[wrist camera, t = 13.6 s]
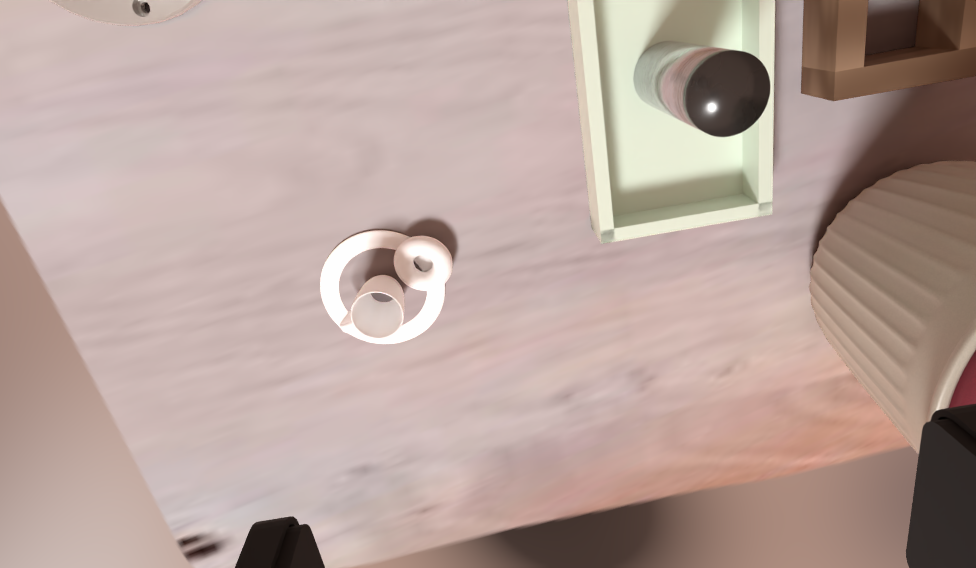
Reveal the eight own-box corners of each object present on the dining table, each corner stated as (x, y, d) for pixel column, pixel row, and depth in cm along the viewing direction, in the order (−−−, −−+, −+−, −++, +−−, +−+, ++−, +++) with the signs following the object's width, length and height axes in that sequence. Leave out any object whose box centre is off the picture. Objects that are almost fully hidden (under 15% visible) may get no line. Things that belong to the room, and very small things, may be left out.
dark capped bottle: (631, 47, 35) (685, 58, 27) (695, 35, 35) (771, 43, 27) (635, 113, 36) (688, 143, 28) (698, 102, 36) (769, 129, 28)
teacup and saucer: (445, 216, 40) (444, 238, 36) (466, 328, 43) (467, 359, 39) (307, 238, 40) (291, 262, 36) (338, 348, 43) (327, 381, 39)
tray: (559, -79, 33) (568, -87, 30) (749, -114, 33) (776, -126, 30) (591, 227, 40) (601, 243, 37) (750, 200, 40) (772, 214, 37)
